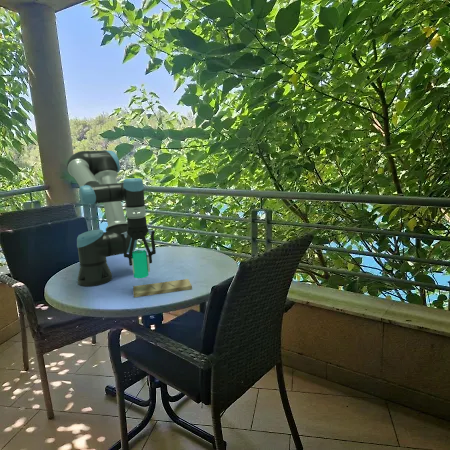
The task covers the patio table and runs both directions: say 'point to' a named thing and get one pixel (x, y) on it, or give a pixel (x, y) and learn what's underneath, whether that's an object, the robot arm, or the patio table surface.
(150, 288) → the oak board
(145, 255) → the candle
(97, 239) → the robot arm
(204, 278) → the patio table surface
